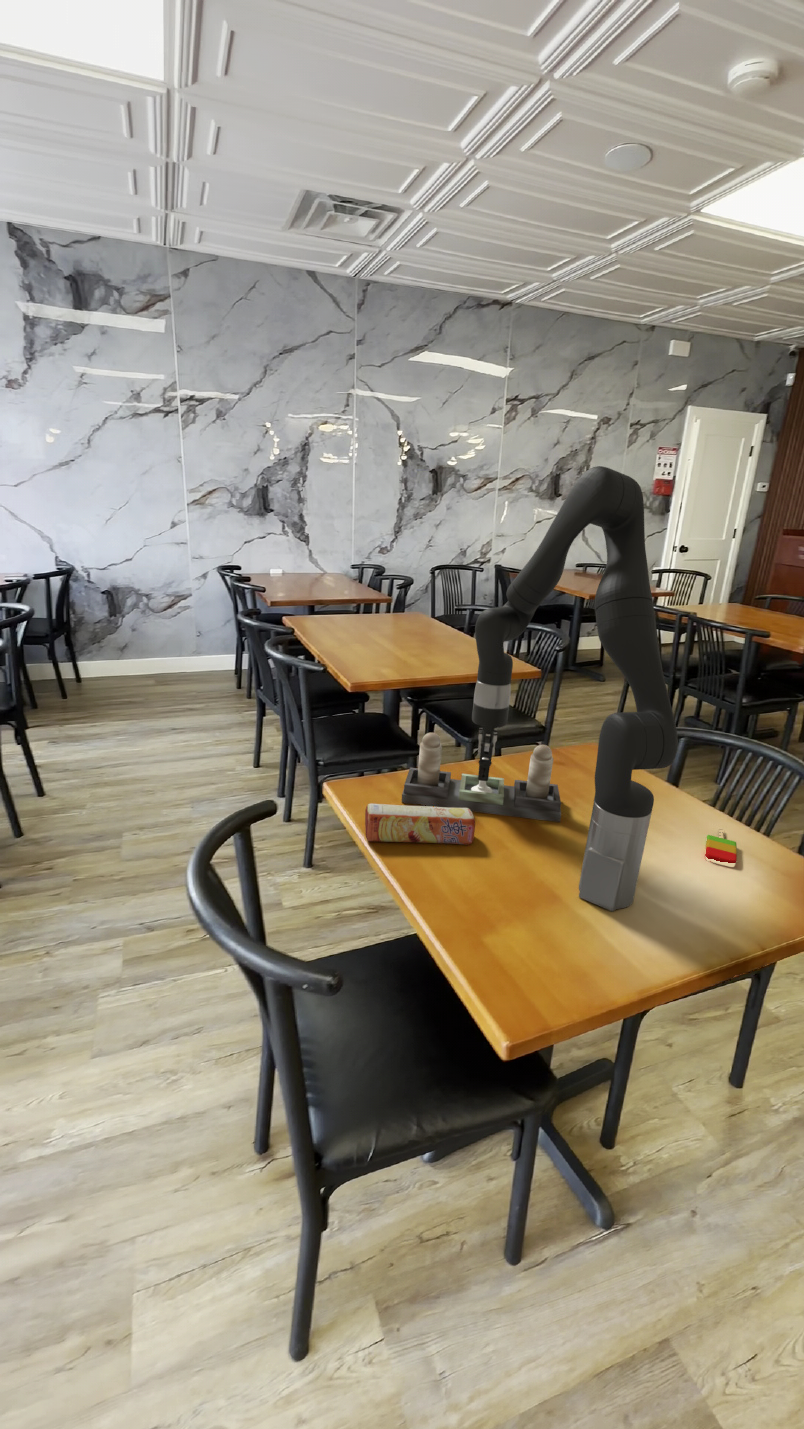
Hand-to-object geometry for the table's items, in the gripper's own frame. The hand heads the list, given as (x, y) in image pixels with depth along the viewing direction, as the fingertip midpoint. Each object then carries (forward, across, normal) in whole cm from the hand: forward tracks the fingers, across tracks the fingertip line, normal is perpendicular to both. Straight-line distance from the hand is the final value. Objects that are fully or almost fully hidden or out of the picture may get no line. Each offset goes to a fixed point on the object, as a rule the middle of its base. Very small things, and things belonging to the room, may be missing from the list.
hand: (483, 775), depth 143 cm
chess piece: (+4, 0, 0) cm, 4 cm away
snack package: (+7, -19, +12) cm, 24 cm away
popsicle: (+7, -8, -49) cm, 50 cm away
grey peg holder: (+6, 0, 0) cm, 6 cm away
